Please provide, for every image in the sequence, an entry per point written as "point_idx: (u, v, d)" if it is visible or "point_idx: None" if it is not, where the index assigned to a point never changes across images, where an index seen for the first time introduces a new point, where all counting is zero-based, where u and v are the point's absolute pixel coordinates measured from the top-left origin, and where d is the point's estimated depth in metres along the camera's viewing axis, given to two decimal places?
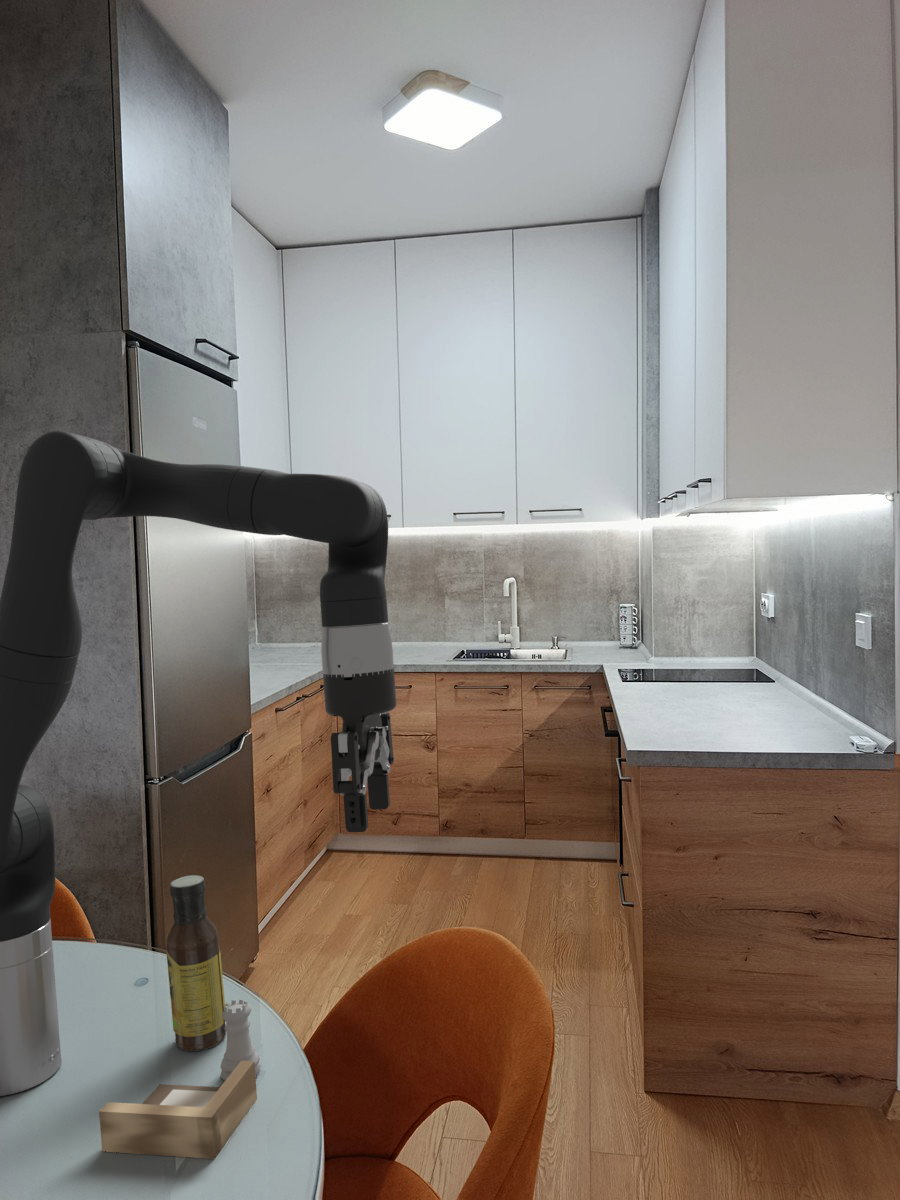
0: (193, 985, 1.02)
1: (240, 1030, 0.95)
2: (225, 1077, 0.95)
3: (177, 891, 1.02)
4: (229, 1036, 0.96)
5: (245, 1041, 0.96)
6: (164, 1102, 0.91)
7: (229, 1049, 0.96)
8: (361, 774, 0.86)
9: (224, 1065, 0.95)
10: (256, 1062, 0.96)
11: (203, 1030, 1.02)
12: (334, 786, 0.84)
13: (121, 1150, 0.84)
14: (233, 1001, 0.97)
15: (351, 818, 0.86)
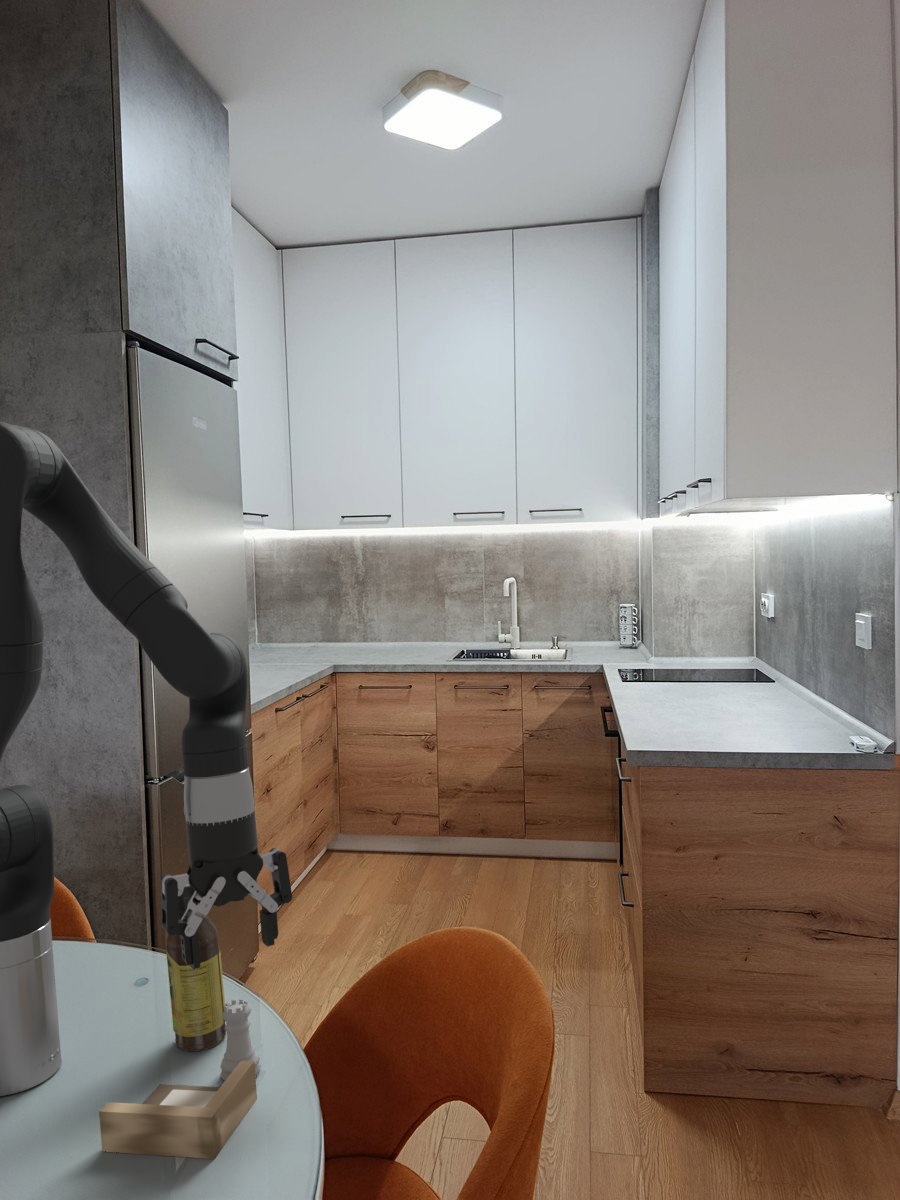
0: (193, 985, 1.02)
1: (240, 1030, 0.95)
2: (225, 1077, 0.95)
3: None
4: (229, 1036, 0.96)
5: (245, 1041, 0.96)
6: (164, 1102, 0.91)
7: (229, 1049, 0.96)
8: None
9: (224, 1065, 0.95)
10: (256, 1062, 0.96)
11: (203, 1030, 1.02)
12: (291, 894, 0.99)
13: (121, 1150, 0.84)
14: (233, 1001, 0.97)
15: None
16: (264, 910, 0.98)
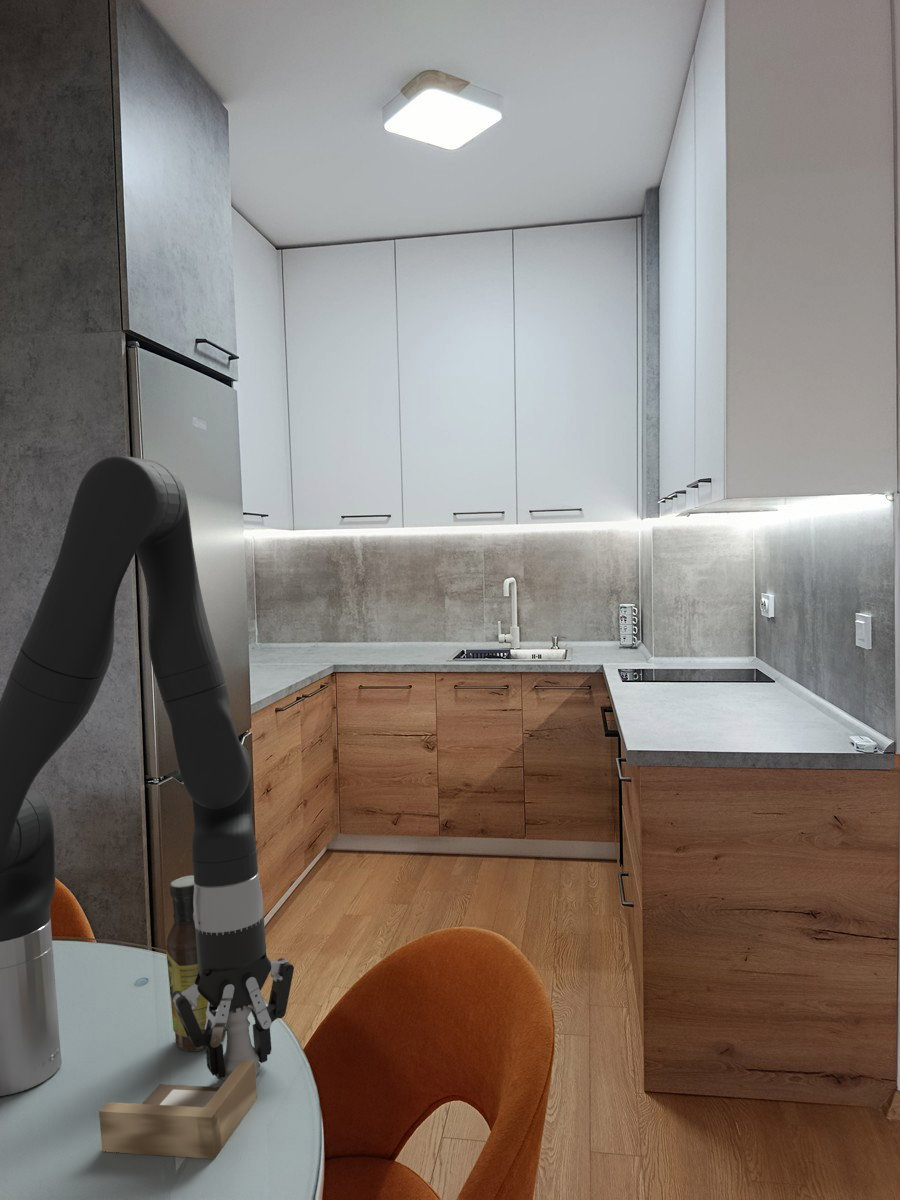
0: None
1: (240, 1029, 0.95)
2: (225, 1077, 0.95)
3: (177, 891, 1.02)
4: (229, 1036, 0.96)
5: (245, 1041, 0.96)
6: (164, 1102, 0.91)
7: (229, 1048, 0.96)
8: None
9: (224, 1064, 0.95)
10: (256, 1062, 0.96)
11: None
12: (285, 1010, 0.99)
13: (121, 1150, 0.84)
14: None
15: None
16: (257, 1026, 0.98)
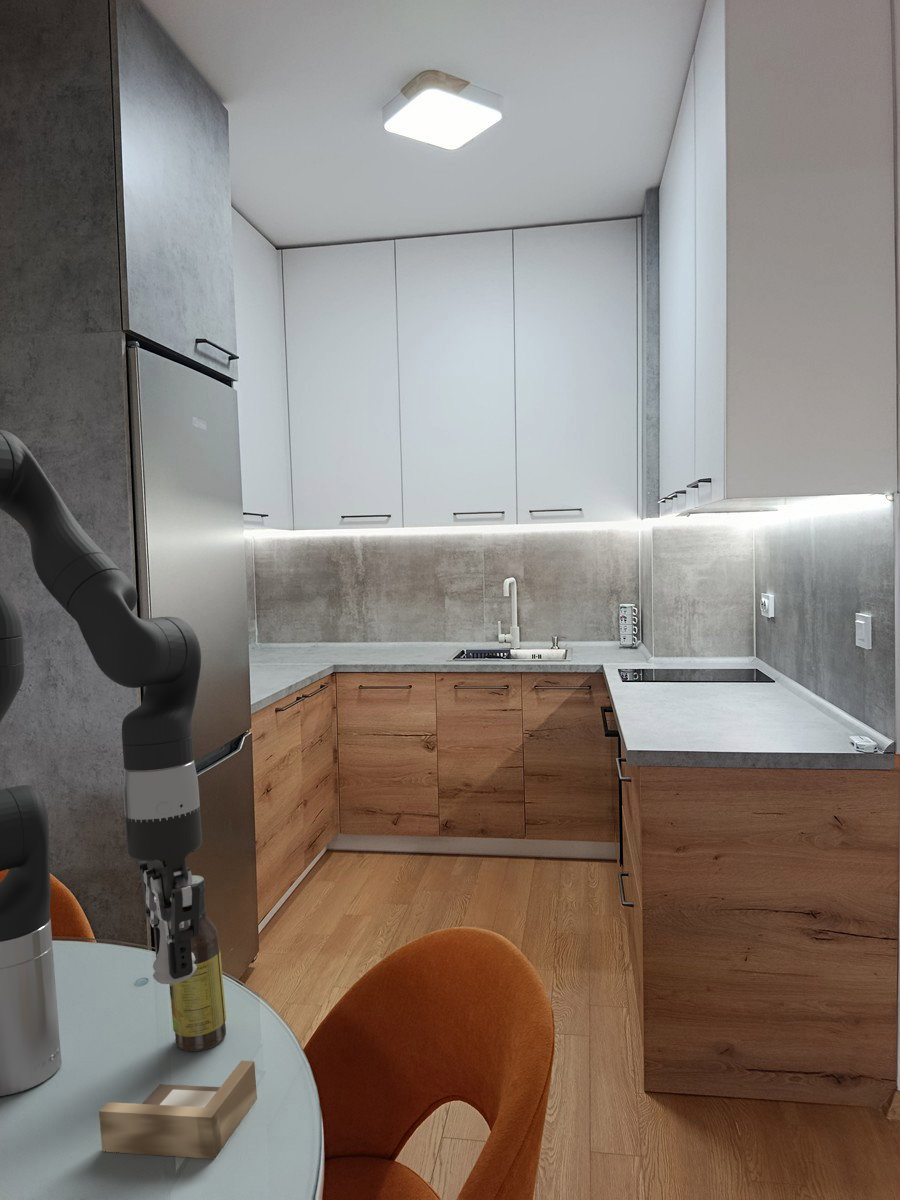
0: (193, 985, 1.02)
1: None
2: None
3: None
4: None
5: None
6: (164, 1102, 0.91)
7: None
8: None
9: None
10: None
11: (203, 1030, 1.02)
12: None
13: (121, 1150, 0.84)
14: None
15: None
16: None
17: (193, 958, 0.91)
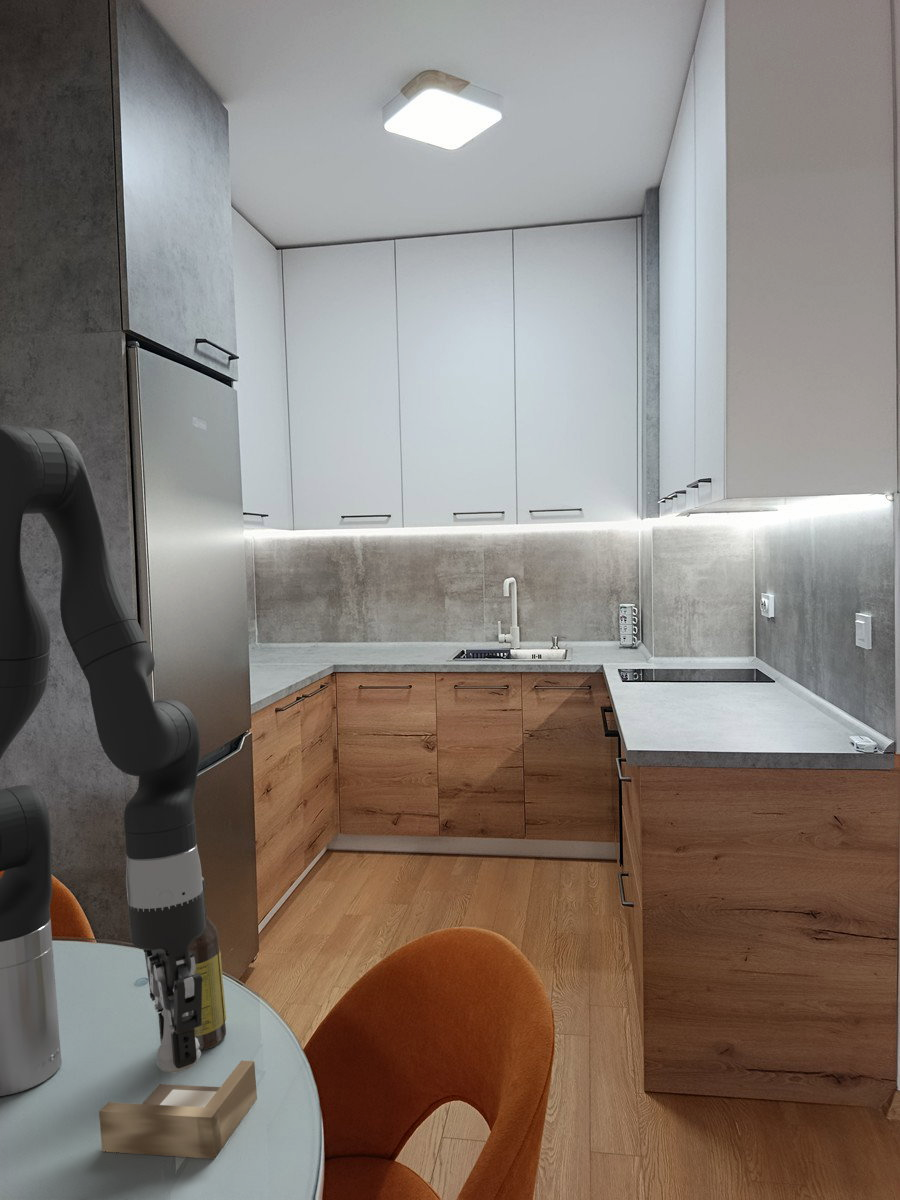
0: None
1: None
2: None
3: None
4: None
5: None
6: (164, 1102, 0.91)
7: None
8: None
9: None
10: None
11: (203, 1030, 1.02)
12: None
13: (121, 1150, 0.84)
14: None
15: None
16: None
17: (197, 1045, 0.90)
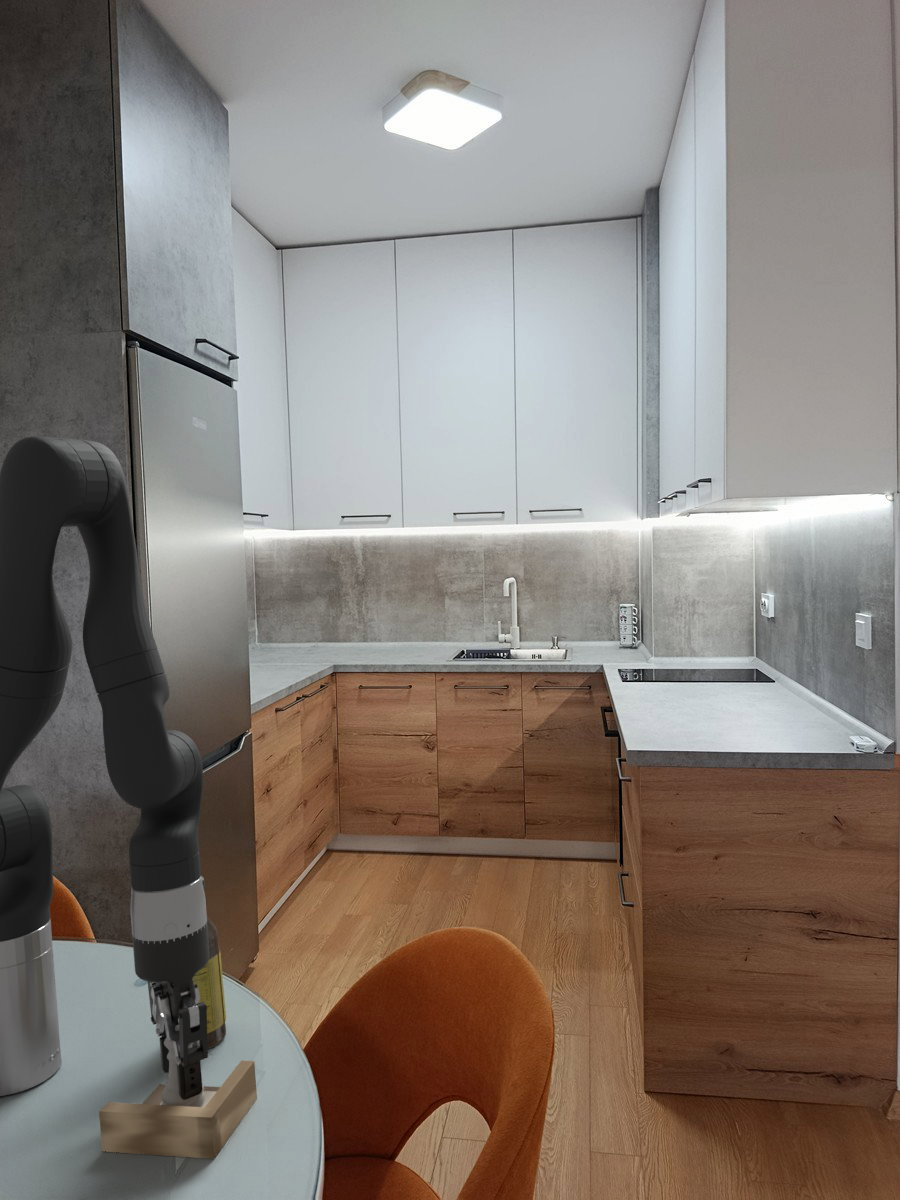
0: None
1: None
2: (194, 1106, 0.89)
3: None
4: None
5: None
6: None
7: None
8: None
9: None
10: None
11: None
12: None
13: (121, 1150, 0.84)
14: None
15: None
16: None
17: (202, 1088, 0.90)
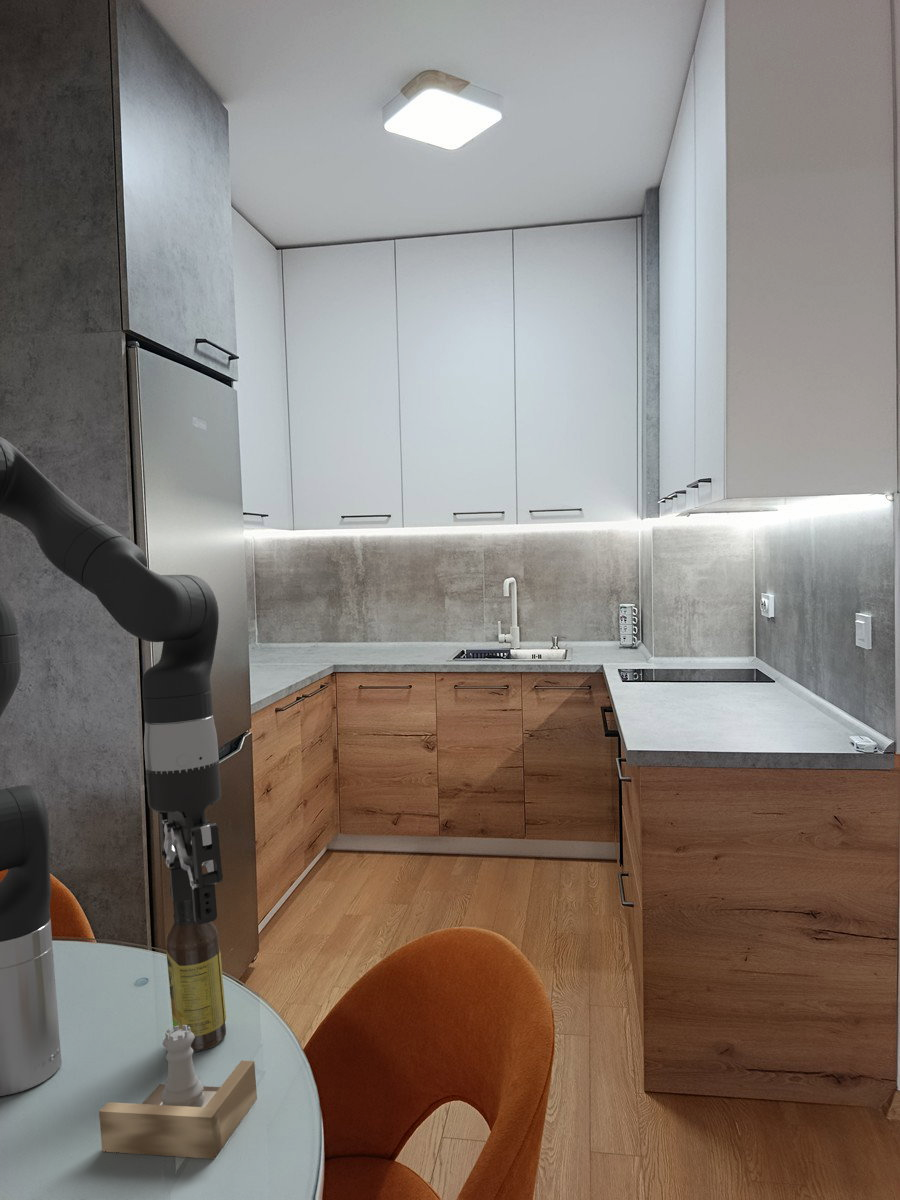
0: (193, 985, 1.02)
1: (192, 1049, 0.91)
2: (193, 1106, 0.89)
3: None
4: (187, 1062, 0.90)
5: None
6: None
7: (188, 1076, 0.90)
8: None
9: (190, 1095, 0.89)
10: None
11: (203, 1030, 1.02)
12: None
13: (121, 1150, 0.84)
14: (168, 1033, 0.90)
15: None
16: (181, 865, 0.96)
17: (201, 1088, 0.90)
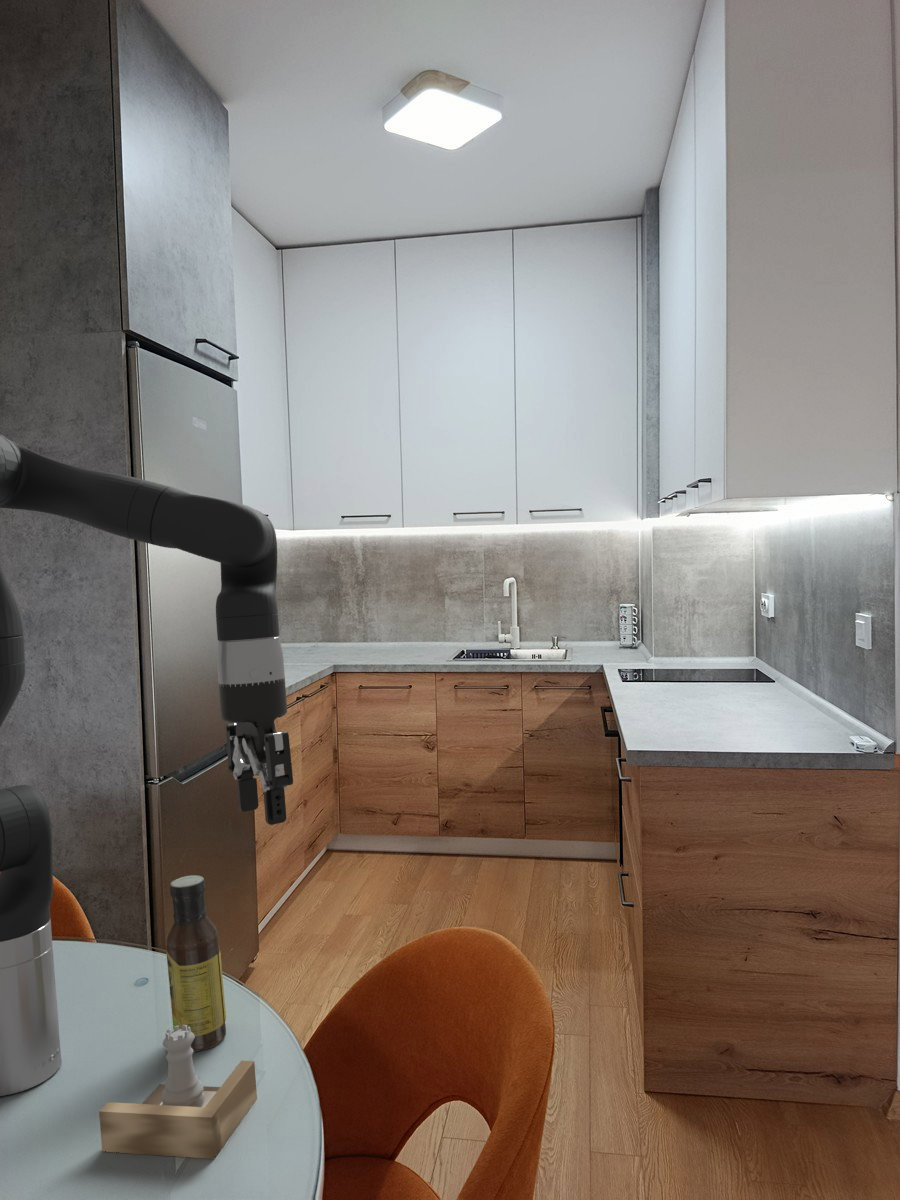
0: (193, 985, 1.02)
1: (192, 1049, 0.91)
2: (193, 1106, 0.89)
3: (177, 891, 1.02)
4: (187, 1062, 0.90)
5: None
6: None
7: (188, 1076, 0.90)
8: None
9: (190, 1095, 0.89)
10: None
11: (203, 1030, 1.02)
12: None
13: (121, 1150, 0.84)
14: (168, 1033, 0.90)
15: None
16: (247, 778, 1.03)
17: (201, 1088, 0.90)
